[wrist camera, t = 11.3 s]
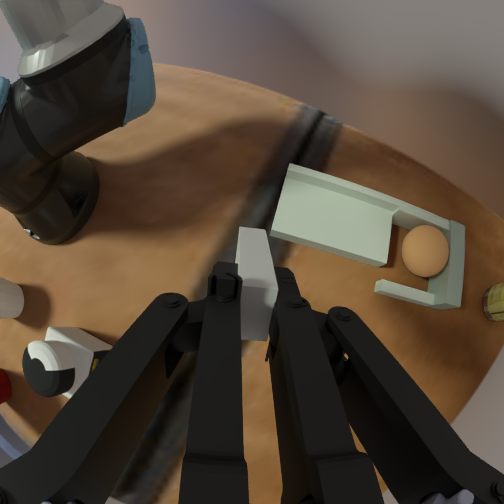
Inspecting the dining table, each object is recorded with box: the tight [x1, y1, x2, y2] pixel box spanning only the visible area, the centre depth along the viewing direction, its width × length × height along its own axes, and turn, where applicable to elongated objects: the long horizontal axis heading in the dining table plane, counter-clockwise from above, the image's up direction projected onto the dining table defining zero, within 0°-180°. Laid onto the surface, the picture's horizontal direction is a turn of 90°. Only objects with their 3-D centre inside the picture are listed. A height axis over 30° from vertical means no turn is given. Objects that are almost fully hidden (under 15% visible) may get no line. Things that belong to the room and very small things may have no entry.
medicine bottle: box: [22, 326, 113, 399], centre depth 27 cm, size 7×7×12 cm
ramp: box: [270, 163, 465, 310], centre depth 35 cm, size 28×12×5 cm, turn 74°
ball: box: [402, 225, 449, 277], centre depth 34 cm, size 7×7×7 cm
